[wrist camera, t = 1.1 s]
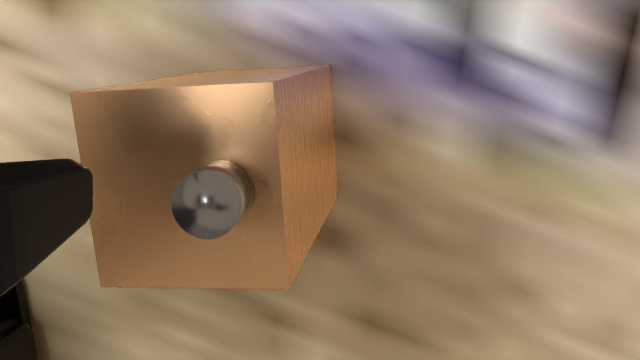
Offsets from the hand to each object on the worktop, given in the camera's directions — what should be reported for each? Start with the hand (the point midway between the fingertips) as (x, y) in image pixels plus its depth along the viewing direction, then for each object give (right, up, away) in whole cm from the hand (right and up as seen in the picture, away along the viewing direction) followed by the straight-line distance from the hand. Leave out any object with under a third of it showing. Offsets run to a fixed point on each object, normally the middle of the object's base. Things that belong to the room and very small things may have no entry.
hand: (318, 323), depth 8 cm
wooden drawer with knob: (-2, +4, +12) cm, 13 cm away
